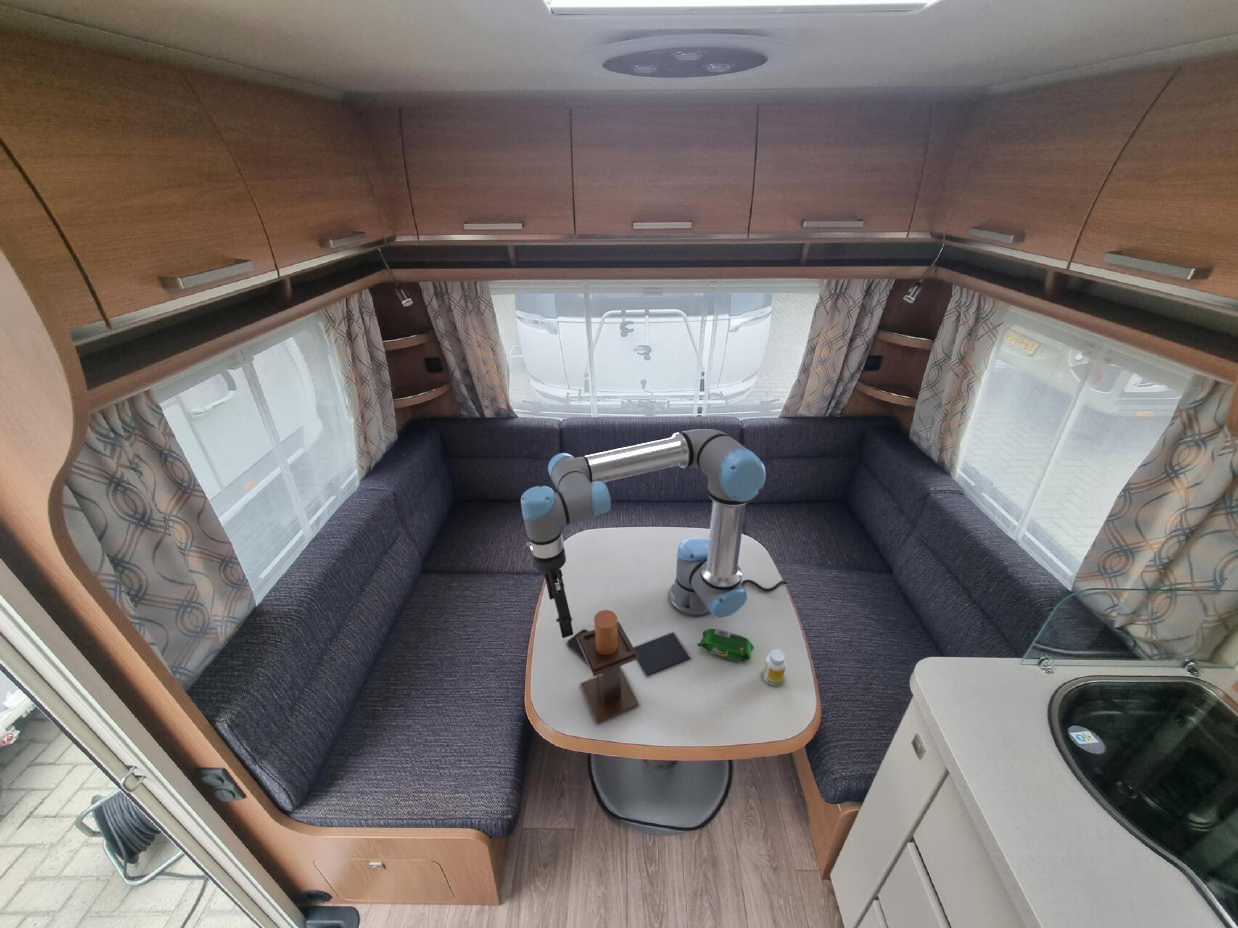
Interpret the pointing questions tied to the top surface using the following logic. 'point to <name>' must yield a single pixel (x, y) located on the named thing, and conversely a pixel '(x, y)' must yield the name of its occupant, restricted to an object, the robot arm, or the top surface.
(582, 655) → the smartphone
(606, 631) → the tin
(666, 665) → the mat
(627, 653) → the stand
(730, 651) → the snack package
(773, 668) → the supplement bottle
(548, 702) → the top surface
